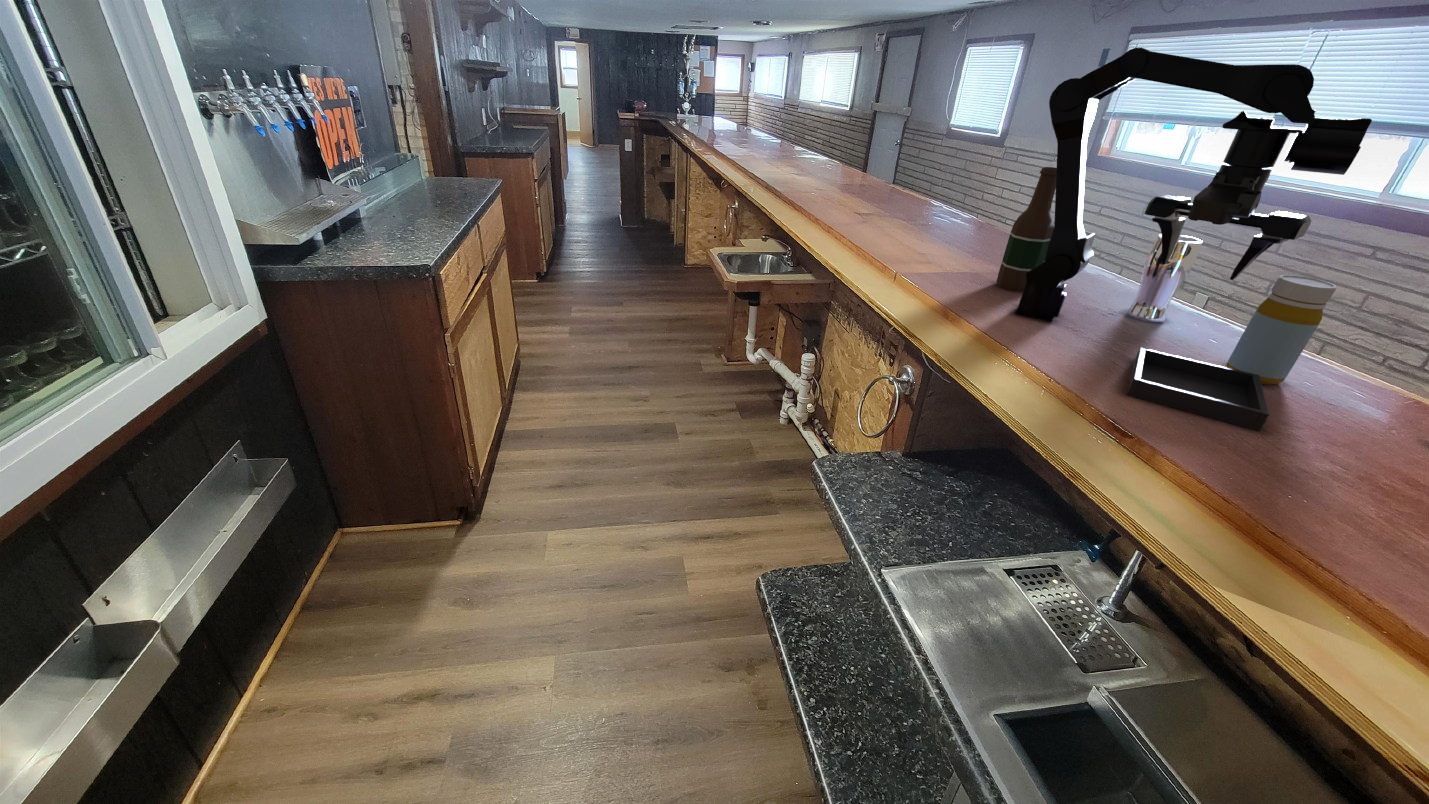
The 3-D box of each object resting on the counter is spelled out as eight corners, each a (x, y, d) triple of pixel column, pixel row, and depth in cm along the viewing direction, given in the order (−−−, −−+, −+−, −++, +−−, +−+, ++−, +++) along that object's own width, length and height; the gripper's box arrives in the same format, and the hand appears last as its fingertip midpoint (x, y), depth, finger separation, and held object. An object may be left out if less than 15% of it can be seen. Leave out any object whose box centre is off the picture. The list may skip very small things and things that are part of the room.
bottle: (1255, 366, 90) (1308, 274, 83) (1294, 387, 84) (1355, 290, 77) (1212, 364, 90) (1262, 272, 82) (1249, 385, 84) (1306, 288, 76)
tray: (1126, 395, 79) (1133, 379, 78) (1133, 361, 90) (1140, 347, 89) (1259, 431, 72) (1269, 414, 71) (1250, 390, 82) (1259, 375, 81)
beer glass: (1153, 311, 111) (1188, 234, 104) (1175, 324, 105) (1213, 244, 98) (1117, 309, 112) (1149, 232, 104) (1136, 321, 106) (1171, 241, 98)
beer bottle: (1036, 285, 123) (1075, 168, 111) (1032, 295, 117) (1073, 172, 105) (998, 278, 127) (1032, 164, 115) (992, 287, 121) (1027, 167, 109)
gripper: (1152, 159, 84) (1111, 263, 92) (1317, 178, 71) (1253, 297, 79) (1180, 157, 90) (1139, 255, 97) (1338, 174, 77) (1277, 285, 84)
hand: (1196, 271), depth 89 cm, fingers open, 9 cm apart
